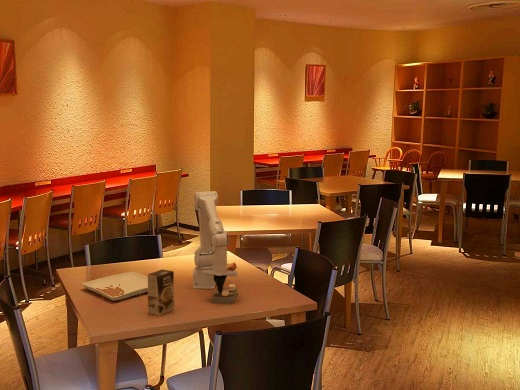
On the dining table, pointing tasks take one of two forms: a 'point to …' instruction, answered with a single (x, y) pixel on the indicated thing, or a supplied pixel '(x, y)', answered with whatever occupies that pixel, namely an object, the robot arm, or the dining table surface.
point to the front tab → (225, 292)
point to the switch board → (224, 297)
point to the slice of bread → (231, 266)
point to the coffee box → (160, 292)
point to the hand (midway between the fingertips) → (220, 292)
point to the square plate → (128, 283)
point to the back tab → (231, 287)
